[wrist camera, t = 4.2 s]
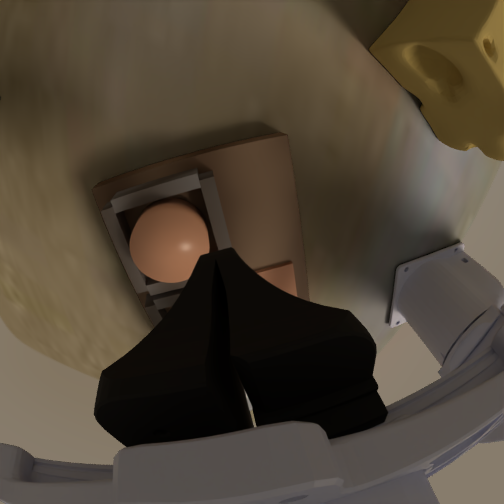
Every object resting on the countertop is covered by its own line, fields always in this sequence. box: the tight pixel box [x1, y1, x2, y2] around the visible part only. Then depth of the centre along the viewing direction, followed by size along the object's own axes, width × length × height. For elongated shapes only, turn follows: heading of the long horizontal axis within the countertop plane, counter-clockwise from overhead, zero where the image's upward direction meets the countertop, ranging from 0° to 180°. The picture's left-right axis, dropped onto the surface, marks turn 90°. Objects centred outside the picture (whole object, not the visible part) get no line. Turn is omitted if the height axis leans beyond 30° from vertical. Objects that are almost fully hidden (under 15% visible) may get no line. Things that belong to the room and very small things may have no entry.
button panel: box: [92, 132, 310, 328], centre depth 21 cm, size 12×22×3 cm, turn 11°
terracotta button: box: [129, 198, 210, 283], centre depth 16 cm, size 4×4×2 cm
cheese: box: [369, 0, 504, 161], centre depth 11 cm, size 10×11×10 cm
